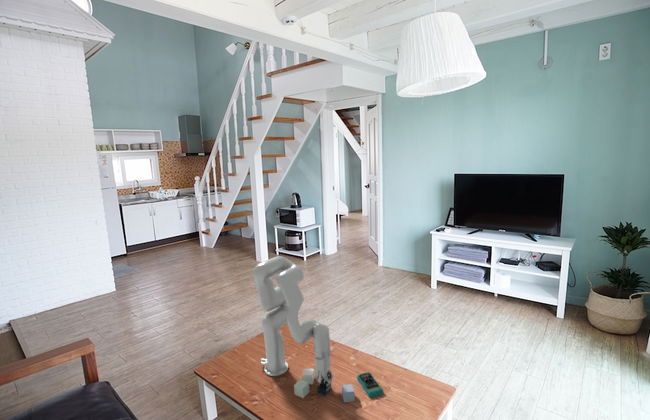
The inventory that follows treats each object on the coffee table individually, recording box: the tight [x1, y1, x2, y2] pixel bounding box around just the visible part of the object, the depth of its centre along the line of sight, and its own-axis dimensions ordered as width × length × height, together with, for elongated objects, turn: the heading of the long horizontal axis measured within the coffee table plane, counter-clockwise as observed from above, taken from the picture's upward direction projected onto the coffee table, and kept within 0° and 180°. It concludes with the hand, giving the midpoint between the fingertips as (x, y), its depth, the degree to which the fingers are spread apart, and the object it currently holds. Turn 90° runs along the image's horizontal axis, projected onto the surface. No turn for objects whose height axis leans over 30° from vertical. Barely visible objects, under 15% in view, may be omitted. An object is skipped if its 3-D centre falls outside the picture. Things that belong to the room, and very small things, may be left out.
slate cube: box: [341, 383, 356, 403], centre depth 157 cm, size 5×5×5 cm
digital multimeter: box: [356, 371, 384, 398], centre depth 164 cm, size 7×15×3 cm, turn 18°
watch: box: [316, 369, 334, 396], centre depth 162 cm, size 6×8×11 cm
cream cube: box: [301, 368, 315, 385], centre depth 170 cm, size 5×5×5 cm
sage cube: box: [293, 378, 310, 399], centre depth 161 cm, size 5×5×5 cm
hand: (324, 386), depth 162 cm, fingers closed on watch, 3 cm apart
